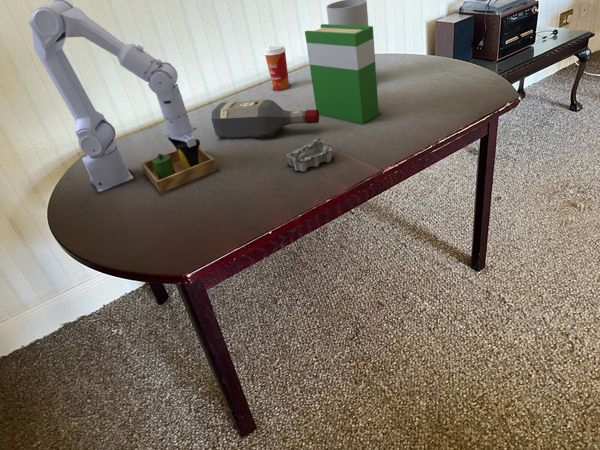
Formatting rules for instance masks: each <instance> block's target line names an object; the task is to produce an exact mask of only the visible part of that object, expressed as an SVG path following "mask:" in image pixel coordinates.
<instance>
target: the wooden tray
mask: <svg viewBox="0 0 600 450" xmlns="http://www.w3.org/2000/svg"><path fill="white" fill-rule="evenodd" d="M163 155H169V156H170V157H171V160H172V163H173V166H174V169H175V172H176V174H173V175H171V176H168V177H166V178H163V179H161V180H159V178H158V175H157V173H156V170H155V167H154V165H153V162H152V160H153V159H154V158H151V159H148V160H146V161H143V162H141V163H140V165H141V168H142V170H143V173H144V174H145V176H146V177H147V178H148V179H149V181H150V182H151V183H152V184H153V186H154V187H155V188H156V189H157V190H158V192H159V193H160V194H163V193H164V192H167V191H169V190H171V189H174V188H176V187H179V186H181V185H183V184H186V183H189V182H191V181H194V180H196V179H198V178H201V177H203V176H206V175H208V174H210V173H213V172H215V171H217V170H218V168H217V164H216V161H215V159H214V157H212V156H210V155H209V154H208V153H207V152H205V151H204V150H203V149H202V148H200V147H199V151H198V157H199V160H200V163H201V164H198V165H196V166H193V167H191V168H188V169H186V170H184V168H183V165H182V162H181V159H180V156H179V153H178V151H177V149H175V150H172V151H169V152H166V153H164V154H163Z"/></svg>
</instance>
